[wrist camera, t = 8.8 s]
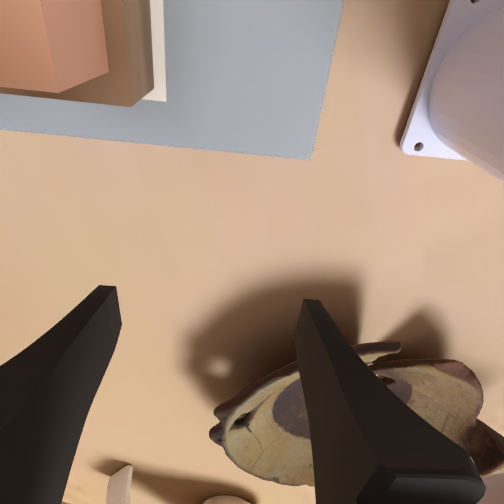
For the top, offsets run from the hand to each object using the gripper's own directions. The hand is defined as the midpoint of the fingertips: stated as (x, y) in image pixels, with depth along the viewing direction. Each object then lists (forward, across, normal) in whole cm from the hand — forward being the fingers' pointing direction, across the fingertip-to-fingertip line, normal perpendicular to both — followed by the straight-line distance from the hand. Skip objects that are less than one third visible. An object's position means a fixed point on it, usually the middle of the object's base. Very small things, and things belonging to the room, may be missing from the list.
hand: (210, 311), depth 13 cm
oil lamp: (+11, -15, +21) cm, 28 cm away
